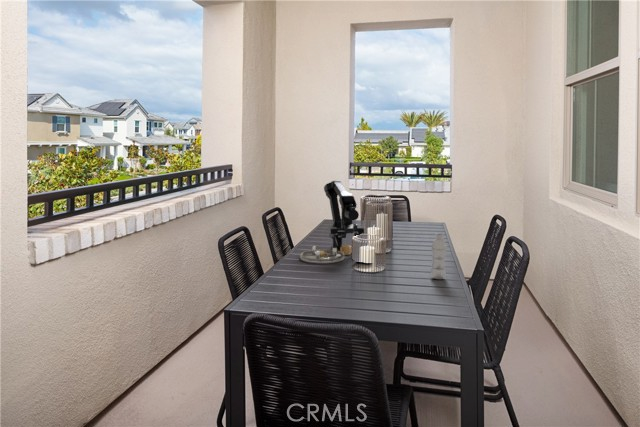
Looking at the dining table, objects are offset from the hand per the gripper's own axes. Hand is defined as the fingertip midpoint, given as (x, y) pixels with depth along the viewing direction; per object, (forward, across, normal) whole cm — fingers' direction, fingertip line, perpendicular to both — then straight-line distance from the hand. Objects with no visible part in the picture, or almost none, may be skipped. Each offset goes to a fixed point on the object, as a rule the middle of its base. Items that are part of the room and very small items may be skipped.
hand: (346, 245), depth 264 cm
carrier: (+4, -15, -9) cm, 18 cm away
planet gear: (+4, 0, 0) cm, 4 cm away
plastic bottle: (+4, +29, -56) cm, 63 cm away
